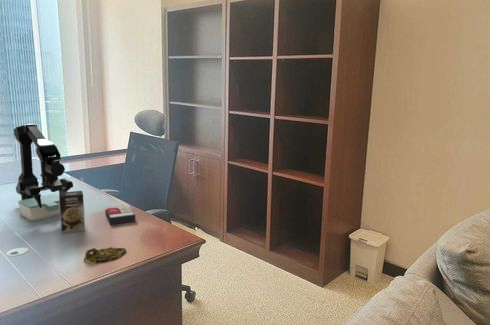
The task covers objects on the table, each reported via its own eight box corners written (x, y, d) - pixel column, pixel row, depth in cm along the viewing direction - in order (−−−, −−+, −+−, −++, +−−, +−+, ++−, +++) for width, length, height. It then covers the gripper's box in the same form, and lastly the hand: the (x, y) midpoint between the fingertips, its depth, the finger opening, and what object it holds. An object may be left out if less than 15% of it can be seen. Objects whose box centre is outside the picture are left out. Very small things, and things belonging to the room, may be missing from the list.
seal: (120, 249, 145) (80, 260, 135) (119, 237, 144) (79, 247, 135) (130, 255, 138) (89, 267, 128) (129, 243, 137) (88, 254, 128)
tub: (20, 214, 174) (19, 202, 173) (55, 206, 186) (54, 195, 185) (31, 221, 167) (30, 208, 165) (67, 212, 179) (66, 200, 178)
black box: (129, 205, 182) (135, 213, 169) (129, 213, 183) (135, 222, 170) (105, 208, 177) (109, 216, 164) (105, 216, 178) (110, 226, 165)
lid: (18, 206, 173) (18, 200, 173) (55, 198, 186) (54, 193, 185) (35, 215, 162) (34, 209, 162) (72, 206, 175) (71, 201, 174)
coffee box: (61, 234, 154) (58, 196, 151) (61, 228, 160) (58, 192, 157) (85, 230, 159) (83, 194, 155) (84, 225, 164) (82, 189, 161)
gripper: (34, 179, 154) (37, 215, 158) (78, 171, 169) (80, 204, 172) (23, 174, 161) (26, 208, 165) (66, 167, 176) (68, 199, 179)
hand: (51, 205), depth 170 cm, fingers open, 9 cm apart
